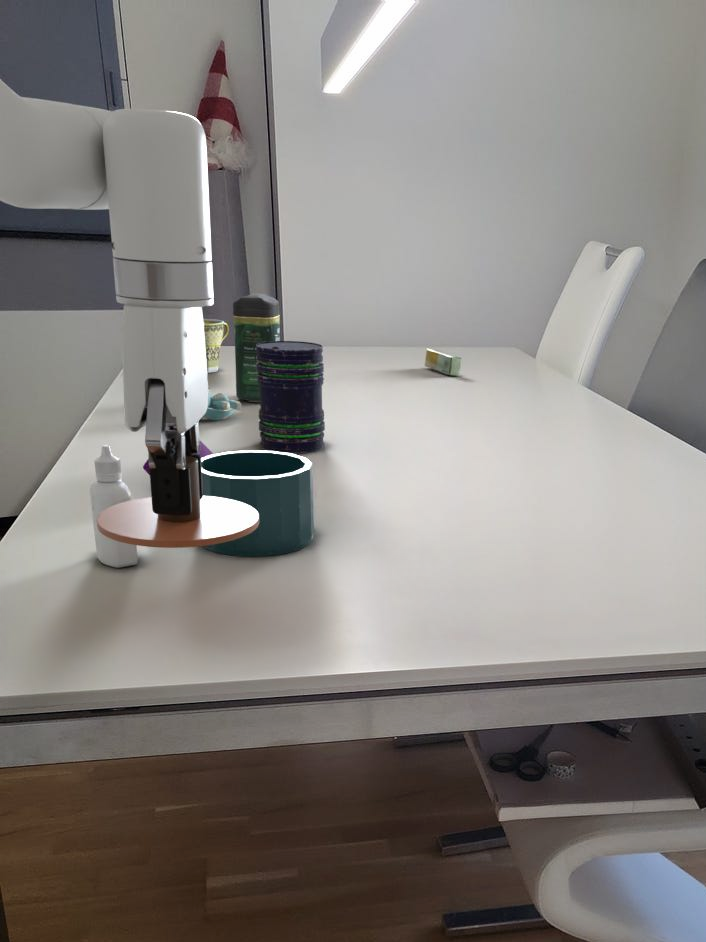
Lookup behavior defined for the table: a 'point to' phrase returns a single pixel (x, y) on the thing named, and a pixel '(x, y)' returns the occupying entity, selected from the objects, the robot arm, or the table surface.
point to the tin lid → (179, 520)
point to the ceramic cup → (213, 341)
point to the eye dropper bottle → (102, 497)
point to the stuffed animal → (220, 407)
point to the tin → (264, 499)
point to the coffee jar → (252, 339)
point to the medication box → (443, 362)
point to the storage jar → (290, 396)
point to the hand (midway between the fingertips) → (178, 504)
